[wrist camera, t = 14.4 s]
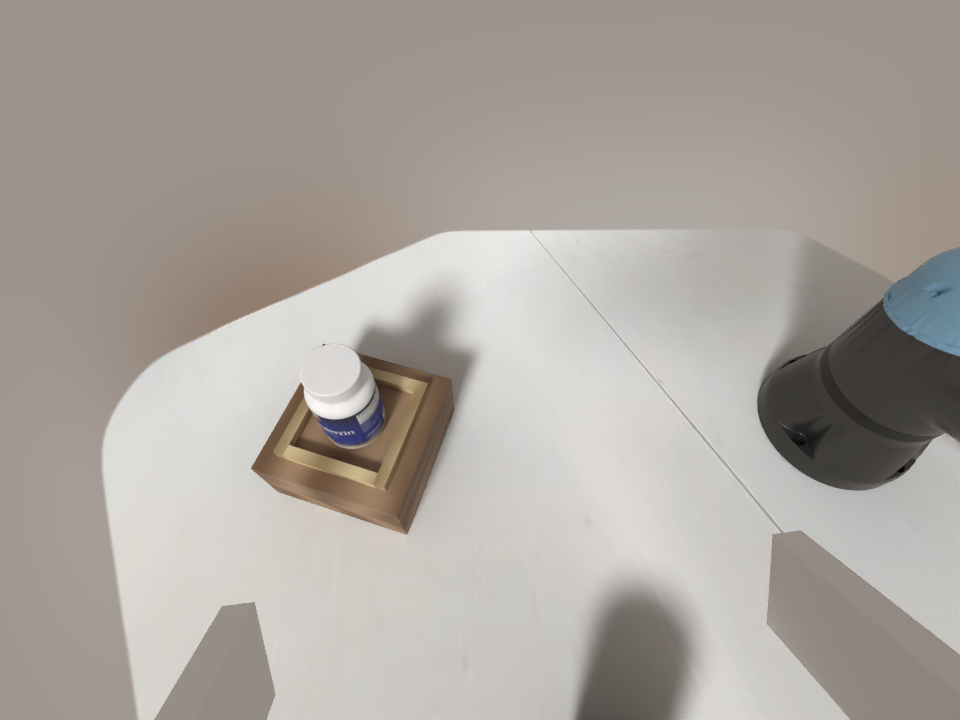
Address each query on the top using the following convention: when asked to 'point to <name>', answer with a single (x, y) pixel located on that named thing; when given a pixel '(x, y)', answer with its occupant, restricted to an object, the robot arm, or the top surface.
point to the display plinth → (364, 450)
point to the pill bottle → (342, 396)
